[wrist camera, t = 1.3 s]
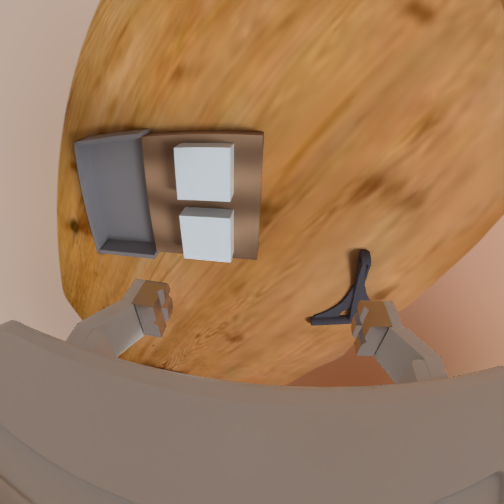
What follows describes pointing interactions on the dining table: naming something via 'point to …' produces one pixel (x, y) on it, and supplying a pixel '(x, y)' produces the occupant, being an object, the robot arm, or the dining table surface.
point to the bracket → (348, 297)
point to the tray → (116, 192)
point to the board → (169, 208)
